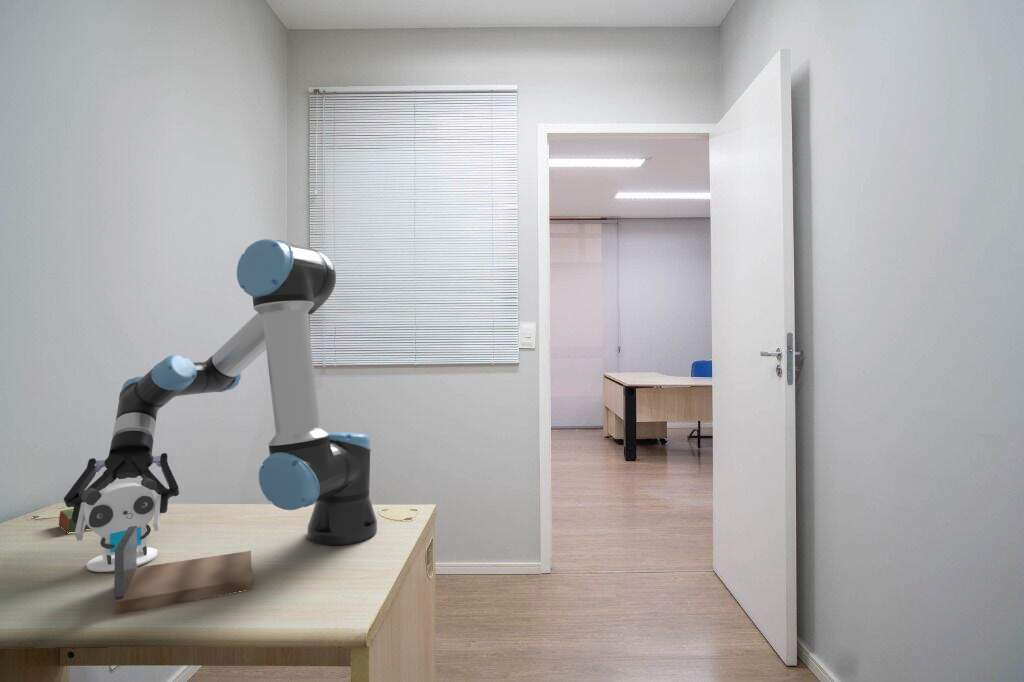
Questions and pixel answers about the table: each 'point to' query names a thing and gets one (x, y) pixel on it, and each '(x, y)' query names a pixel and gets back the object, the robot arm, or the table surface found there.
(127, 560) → the bookend
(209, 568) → the shelf board
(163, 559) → the table surface
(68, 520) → the carton
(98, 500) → the panda figurine
